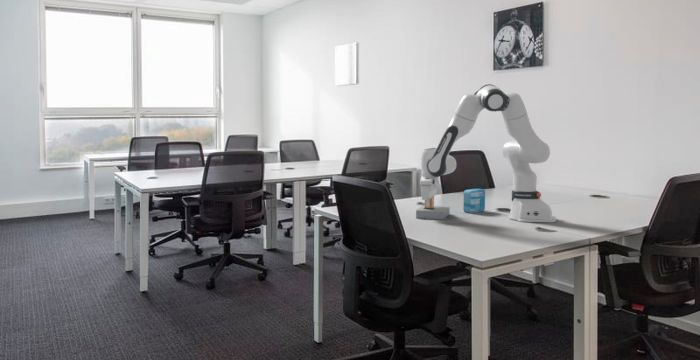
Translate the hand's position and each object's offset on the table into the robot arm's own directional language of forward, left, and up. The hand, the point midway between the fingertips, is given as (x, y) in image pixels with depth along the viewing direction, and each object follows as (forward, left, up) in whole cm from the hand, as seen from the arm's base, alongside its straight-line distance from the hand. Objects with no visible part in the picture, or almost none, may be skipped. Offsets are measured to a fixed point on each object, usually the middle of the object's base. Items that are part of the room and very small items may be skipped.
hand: (429, 206), depth 271 cm
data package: (-20, -20, -5) cm, 29 cm away
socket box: (-2, 0, -5) cm, 5 cm away
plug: (0, 0, -3) cm, 3 cm away
